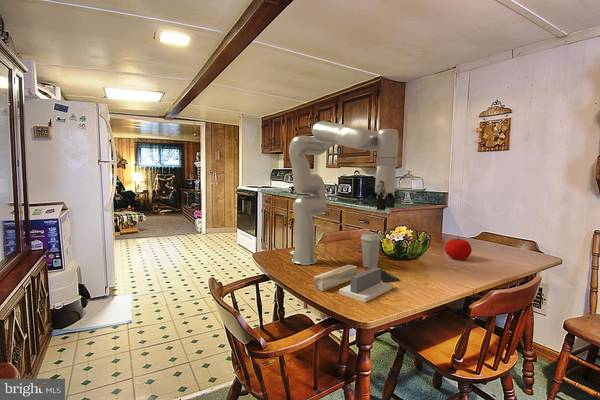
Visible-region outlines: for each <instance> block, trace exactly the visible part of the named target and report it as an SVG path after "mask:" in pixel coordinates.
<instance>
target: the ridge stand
mask: <svg viewBox="0 0 600 400" xmlns="http://www.w3.org/2000/svg"><path fill="white" fill-rule="evenodd" d="M365 270H366V271H365ZM365 270H364V271H362V272H359V273H357V274H356V275H354V276H351V280H350V284H349V285H346V286H344V287H342V288H339V289H338V294H339V295H342V296H346V297H348V298H352V299H355V300H357V301H359V302H362V303H367V302H369V301H370V300H373V299H375V298H377V297H379V296H380V295H383V294H384V293H386V292H389V291H390V290H392V289H393V284H391V283H389V282H388V283H384V282H381V270H382V268H380V267H378V266H377V267H374V268H368V269H365Z"/></svg>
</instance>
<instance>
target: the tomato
mask: <svg viewBox="0 0 600 400" xmlns="http://www.w3.org/2000/svg"><path fill="white" fill-rule="evenodd" d="M471 246H472V245H471V243H470V242H468V241H467V240H465V239H461V238H459V237H458V238H451V239H448V240H447V241H446V243H445V244H444V252H445V254H446V255H447V256H448V257H449V258H452V259H454V260H461V261H462V260H466V259H468V258H469V257H470V256H471V254H472V249H473V248H472V247H471Z"/></svg>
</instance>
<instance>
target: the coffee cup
mask: <svg viewBox="0 0 600 400" xmlns="http://www.w3.org/2000/svg"><path fill="white" fill-rule="evenodd" d="M381 240H382V237H381V234H380V233H375V232H363V233H361V236H360V241H361V255H362V267H363V268H366V267H368V268H367V269H372V268H374V267H377V268H378V263H379V257H380V256H379V254H380V246H381Z"/></svg>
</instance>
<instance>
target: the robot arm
mask: <svg viewBox="0 0 600 400" xmlns="http://www.w3.org/2000/svg"><path fill="white" fill-rule="evenodd" d="M311 131H312V135H313V136H310V135H298V136H295V137H294V138H293V139H292V140H291V141H290V143H289V146H288V154H289V155H288V156H289V159H290V164H291V169H292V180H293V189H294V191H295V192H296V193H297V194H300V195H301V194H302V195H303V194H304V195H306V194H307V195H308V196H300V197H298V198H296V199H295V200H294V201H293V203H292V212H293V217H294V250H291V251H290V253H289V255H291V256H292V258H291V263H292V262H293V263H292V264H294V263H296V264H295V265H297V264H301V265H300V266H311V265H310V264H313V265H315V263H316V264H317V263H318V258H317V257H315V237H316V236H315V228H316V227H315V226H316V225H315V221H314V220H313V218H312V217H313V216H321V215H322V214H324V212H325V211H326V209H327V197H326V188H325V182H324V180H323V178H322V177H321V175H319V174H318V173H317V174H316V173H311V167H310V162H309V161H308V159H307V157H306V156H305V155H310V156H311V155H312V156H313V155H314V156H321V155H322V154H324V153H325V152H327V151H328V150H329V149H330V148H332V147H333V146H334V145H338V146H341V147H345V148H346V147H347V148H352V149H355V150H360V151H361V150H362V151H372V152H373V151H374V152H375V151H376V172H375V182H374V192H375V194H376V210H378V211H386V209H388V208H389V209H395V194H396V193H395V192H396V189H397V188H396V187H397V175H396V168H397V167H398V158H399V157H398V154H399V153H398V152H399V132H398V130H397V129H395V128H383V129H380V130H378V131H377V130H370V129H365V128H356V127H350V126H347V125H346V124H342V123H338V122H337V123H336V122H329V121H324V120H322V121H317V122H316V123H314V125H313V126H312V129H311Z"/></svg>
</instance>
